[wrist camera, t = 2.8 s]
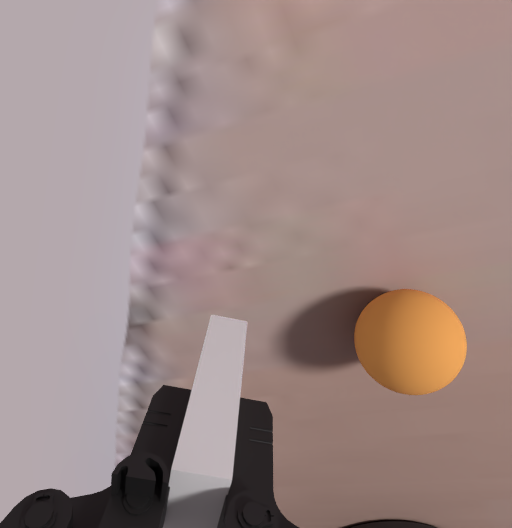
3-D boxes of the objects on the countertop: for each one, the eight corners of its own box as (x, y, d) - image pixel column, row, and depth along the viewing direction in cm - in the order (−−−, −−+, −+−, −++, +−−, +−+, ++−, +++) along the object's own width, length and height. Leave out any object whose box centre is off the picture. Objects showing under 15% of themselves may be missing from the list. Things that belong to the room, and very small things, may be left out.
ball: (384, 362, 23) (415, 435, 18) (326, 313, 22) (343, 377, 17) (456, 311, 21) (513, 376, 16) (399, 253, 20) (443, 305, 15)
